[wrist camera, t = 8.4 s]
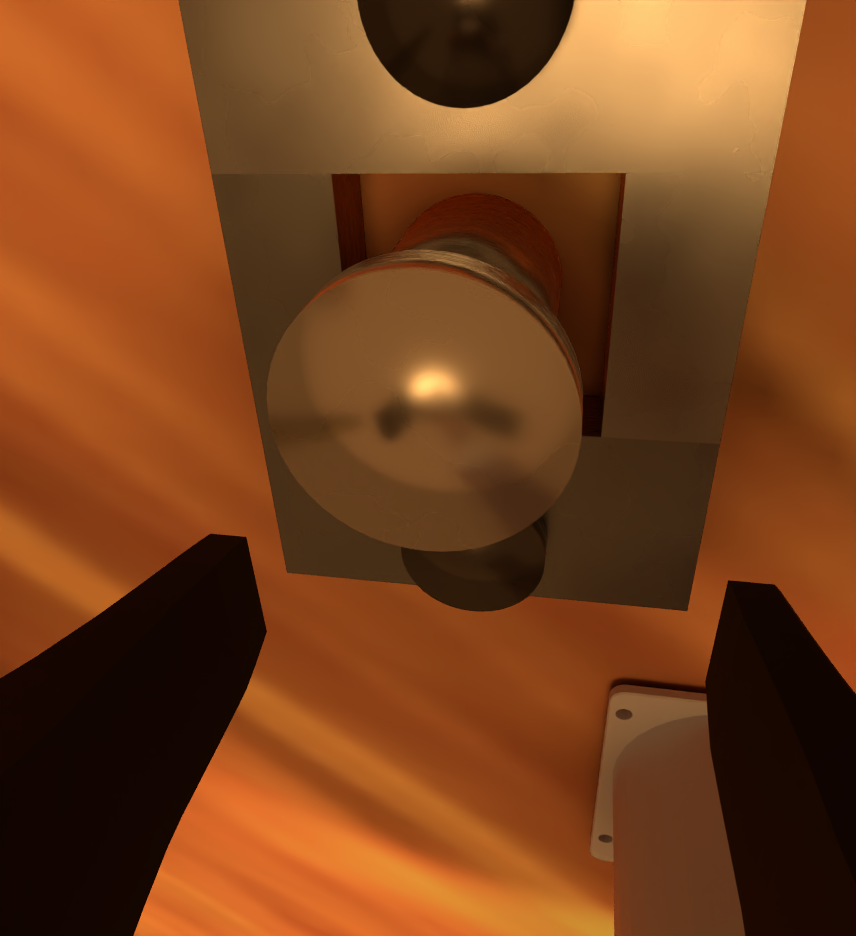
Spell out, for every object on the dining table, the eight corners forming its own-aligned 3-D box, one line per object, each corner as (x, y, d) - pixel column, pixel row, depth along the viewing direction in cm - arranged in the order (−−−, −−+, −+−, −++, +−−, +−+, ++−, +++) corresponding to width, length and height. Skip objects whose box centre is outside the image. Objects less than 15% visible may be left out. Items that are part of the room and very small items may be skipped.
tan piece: (680, 561, 21) (690, 638, 19) (308, 529, 23) (275, 596, 21) (813, -175, 13) (863, -208, 10) (202, -126, 15) (122, -144, 12)
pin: (579, 384, 19) (569, 564, 13) (378, 372, 20) (288, 537, 14) (598, 166, 16) (596, 276, 11) (363, 164, 17) (243, 264, 11)
